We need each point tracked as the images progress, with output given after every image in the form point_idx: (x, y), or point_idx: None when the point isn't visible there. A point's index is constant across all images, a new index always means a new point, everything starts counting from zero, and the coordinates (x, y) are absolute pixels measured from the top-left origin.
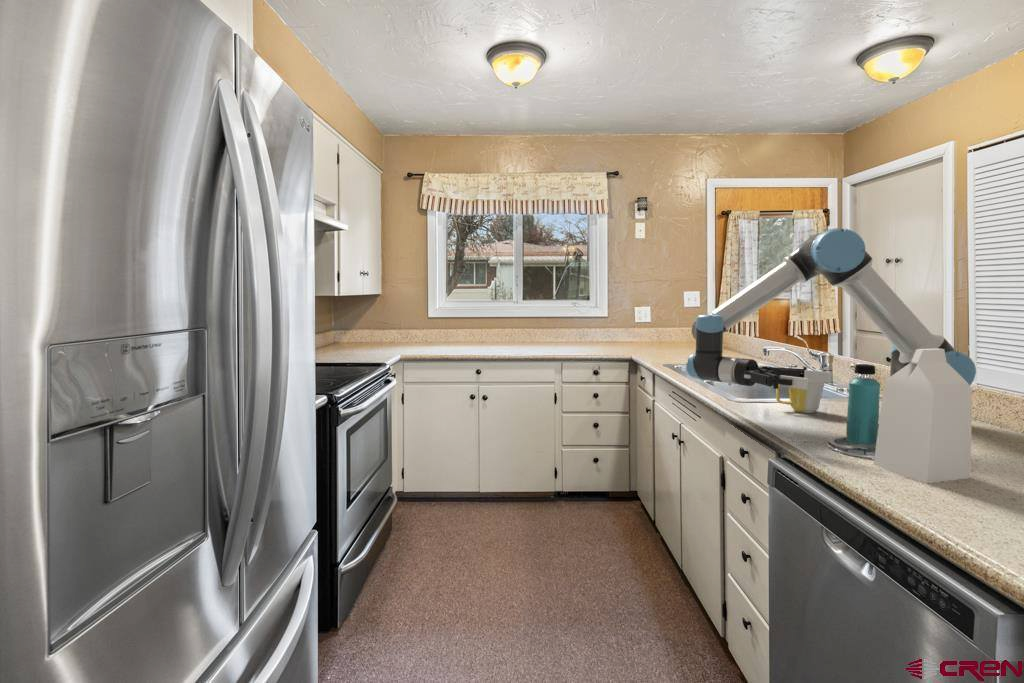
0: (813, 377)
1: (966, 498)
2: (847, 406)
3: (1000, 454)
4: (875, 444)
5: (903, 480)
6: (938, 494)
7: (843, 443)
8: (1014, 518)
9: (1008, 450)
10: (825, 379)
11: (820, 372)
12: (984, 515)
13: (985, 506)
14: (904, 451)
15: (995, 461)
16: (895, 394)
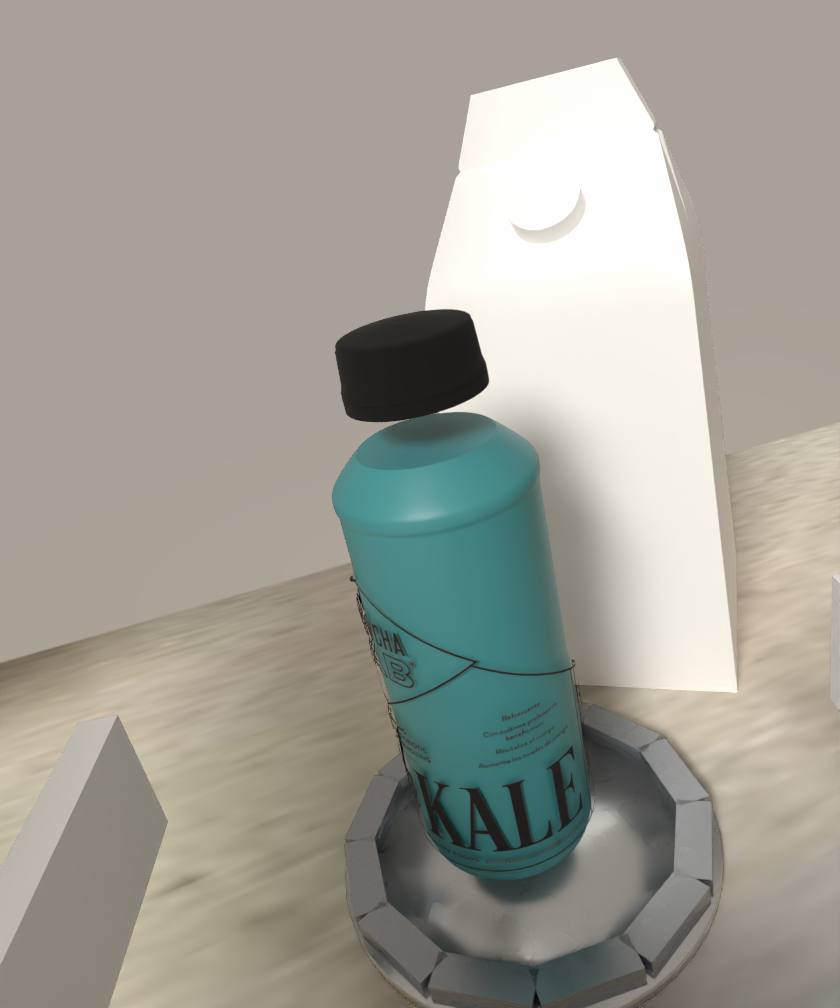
0: (67, 1003)
1: (746, 497)
2: (534, 673)
3: (138, 642)
4: (384, 835)
5: (793, 584)
6: (801, 516)
7: (528, 935)
8: (769, 443)
9: (56, 655)
10: (137, 838)
11: (71, 831)
12: (827, 452)
13: (757, 473)
14: (727, 524)
15: (254, 614)
16: (700, 314)
